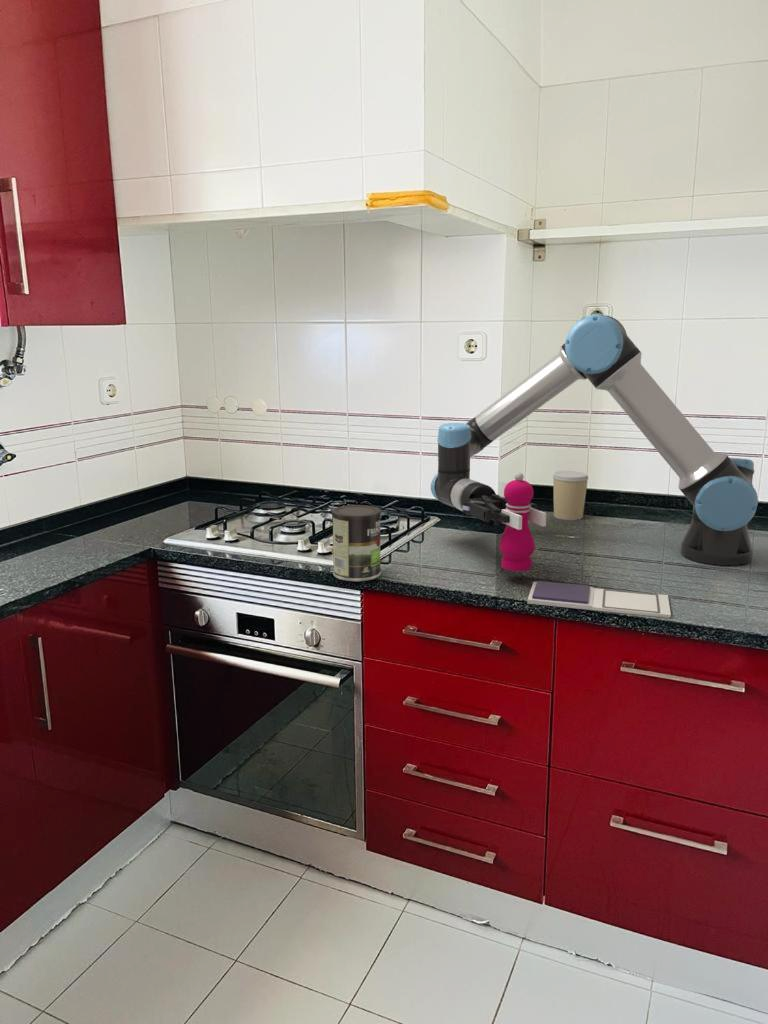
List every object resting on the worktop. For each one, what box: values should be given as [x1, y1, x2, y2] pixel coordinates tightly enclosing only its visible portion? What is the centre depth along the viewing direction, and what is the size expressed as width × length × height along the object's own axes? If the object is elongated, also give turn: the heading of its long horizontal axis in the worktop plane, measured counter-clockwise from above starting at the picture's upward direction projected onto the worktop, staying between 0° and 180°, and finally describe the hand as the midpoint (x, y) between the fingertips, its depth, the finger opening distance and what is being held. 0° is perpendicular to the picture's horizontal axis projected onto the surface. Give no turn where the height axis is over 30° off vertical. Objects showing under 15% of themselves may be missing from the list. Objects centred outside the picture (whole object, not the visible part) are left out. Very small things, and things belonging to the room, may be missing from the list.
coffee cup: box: [552, 470, 589, 521], centre depth 215 cm, size 9×9×12 cm
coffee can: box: [331, 504, 382, 582], centre depth 166 cm, size 10×10×14 cm
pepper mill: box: [499, 472, 536, 572], centre depth 161 cm, size 7×7×20 cm
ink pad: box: [527, 580, 595, 611], centre depth 154 cm, size 12×11×1 cm
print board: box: [591, 587, 672, 619], centre depth 151 cm, size 14×11×1 cm
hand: (532, 521), depth 157 cm, fingers closed on pepper mill, 5 cm apart
